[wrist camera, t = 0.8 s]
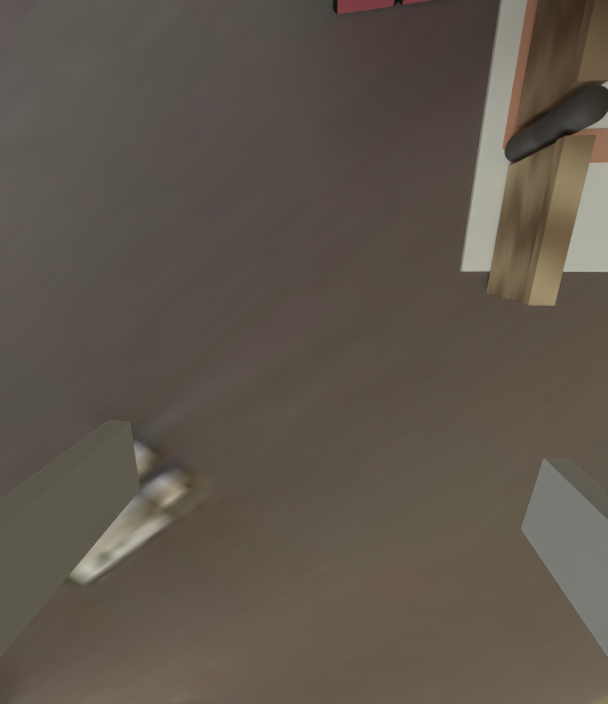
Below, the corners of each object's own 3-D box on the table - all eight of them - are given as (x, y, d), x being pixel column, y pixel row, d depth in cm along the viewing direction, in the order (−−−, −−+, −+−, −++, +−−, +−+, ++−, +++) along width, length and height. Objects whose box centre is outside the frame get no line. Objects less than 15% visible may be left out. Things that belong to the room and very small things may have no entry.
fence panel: (505, 166, 26) (565, 135, 19) (527, 166, 26) (596, 134, 19) (483, 293, 29) (528, 305, 23) (503, 293, 29) (554, 305, 22)
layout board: (505, -34, 23) (508, -40, 23) (778, -55, 22) (788, -62, 21) (460, 270, 30) (462, 271, 29) (666, 271, 28) (671, 272, 28)
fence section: (534, -28, 23) (635, -170, 15) (563, -31, 23) (680, -175, 15) (502, 162, 26) (569, 125, 19) (526, 162, 26) (605, 124, 19)
